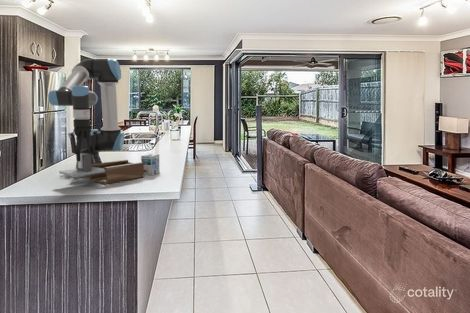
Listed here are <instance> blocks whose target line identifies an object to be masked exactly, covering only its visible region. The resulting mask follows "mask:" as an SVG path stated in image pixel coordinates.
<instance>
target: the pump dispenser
mask: <svg viewBox="0 0 470 313" xmlns="http://www.w3.org/2000/svg"><path fill="white" fill-rule="evenodd" d="M81 153H85V154H86V149H83V150H81ZM91 164H95V161H94V158H93V155H92V154H91ZM75 169H77V161H76V163H75ZM79 177H80V178H82V179H83V178H84V179H85V178H90V175H83V176H79Z"/></svg>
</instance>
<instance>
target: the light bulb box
mask: <svg viewBox="0 0 470 313" xmlns="http://www.w3.org/2000/svg"><path fill="white" fill-rule="evenodd" d="M140 160H141V162H142V163H144V176H154V175H157V174H158V173H160V153H147V154H144V155H141V156H140Z"/></svg>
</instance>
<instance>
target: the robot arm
mask: <svg viewBox="0 0 470 313" xmlns="http://www.w3.org/2000/svg"><path fill="white" fill-rule="evenodd" d="M119 63H120V62H118V60H117V59H116V58H115V59H114V58H87V59H84V60H82V61H80V62H78V63H77V64H76V65H74V66H73V68H72V69H71V74H70V75H69V76H68V77H67V78H66V80H64V82H63V83H62V85H61V86H60V87H59V88H58V89H57V90H55V89H54V90H50V91H49V92H48V95H47V97H48V99H47V100H48V103H49V104H50V105H51V106H53V107H54V106H56V107H67V106H69V107H71V106H72V117H73V131H72V132H68V133H67V136H68V137H69V140H70V148H71V153H72V154H74V155H75V157H76V158H75V159H76V162H77V161H78V168H83V163H82V155H81V150H83V149H86V154H92V155H93V158H94V161H95V164H96V163H103V162H102V161H103V160H102V159H101V156H100V152H117V151H118V152H119V151H121V150H122V149H123V147H124V144H125V132H124V131H123V130H122V128H121V126H119V119H118V102H117V100H118V99H117V98H118V97H117V85H118V84H119V81H120V80H121V79H122V69H121V66H120V64H119ZM88 80H97V84H99V85H100V96H101V97H100V99H101V113H102V127H101V128H100V131H99V129H98V128H95V129H92V128H91V126H92V125H91V119H90V118H91V109H90V108H91V107H93V106H95V105H96V104H97V102H98V100H99V97H98V95H97V93H96V92H94V91H92V90H90V88H89V86H87V85H83V84H84V83H85V82H87V81H88ZM75 136H76V137H75Z"/></svg>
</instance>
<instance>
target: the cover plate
mask: <svg viewBox="0 0 470 313" xmlns="http://www.w3.org/2000/svg"><path fill="white" fill-rule="evenodd" d="M81 155H82V163H83V168H78V161H77V160H76V162H77V169H76V168H74V169H67V170H60V171H59V170H58V173H59V174H61V175H64V176H68V177H69V176H70V177H73V178H75V177H80V176H83V175H90V174H96V173H103V172H106V170H105V169H103V168H98V167H91V154H85V153H81Z"/></svg>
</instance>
